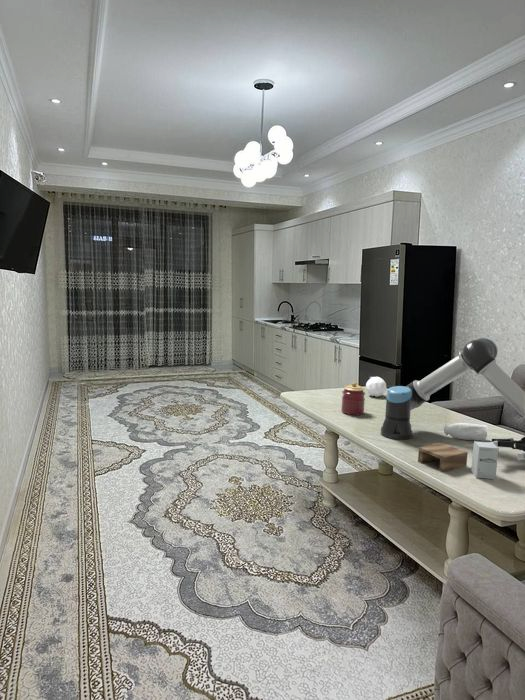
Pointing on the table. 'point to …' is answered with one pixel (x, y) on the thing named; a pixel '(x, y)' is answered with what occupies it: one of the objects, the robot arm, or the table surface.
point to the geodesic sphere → (376, 386)
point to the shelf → (443, 456)
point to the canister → (353, 400)
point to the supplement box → (484, 460)
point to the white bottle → (467, 431)
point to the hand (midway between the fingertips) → (502, 451)
